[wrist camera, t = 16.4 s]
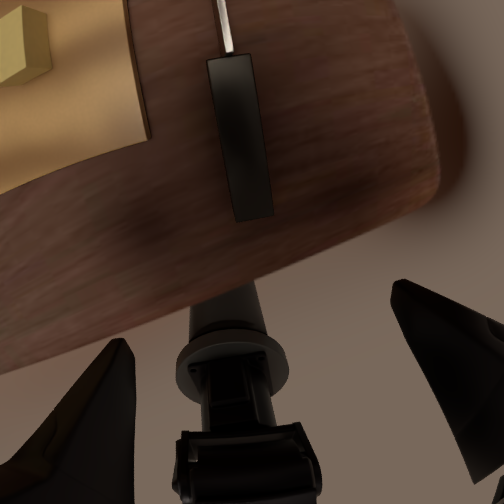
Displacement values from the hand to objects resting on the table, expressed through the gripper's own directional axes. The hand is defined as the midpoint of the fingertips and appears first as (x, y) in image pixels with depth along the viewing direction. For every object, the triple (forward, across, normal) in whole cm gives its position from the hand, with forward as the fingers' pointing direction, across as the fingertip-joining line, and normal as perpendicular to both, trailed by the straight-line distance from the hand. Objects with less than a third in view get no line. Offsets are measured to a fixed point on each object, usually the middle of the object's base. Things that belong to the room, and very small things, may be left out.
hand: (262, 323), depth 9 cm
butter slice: (+10, +10, -13) cm, 19 cm away
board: (+11, +15, -12) cm, 22 cm away
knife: (+11, -1, -9) cm, 14 cm away
